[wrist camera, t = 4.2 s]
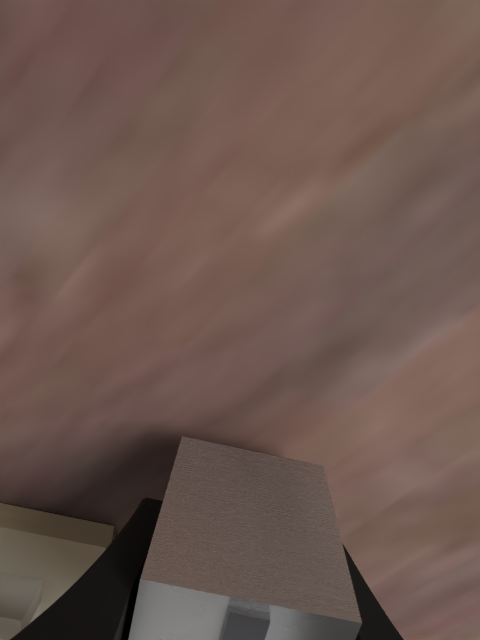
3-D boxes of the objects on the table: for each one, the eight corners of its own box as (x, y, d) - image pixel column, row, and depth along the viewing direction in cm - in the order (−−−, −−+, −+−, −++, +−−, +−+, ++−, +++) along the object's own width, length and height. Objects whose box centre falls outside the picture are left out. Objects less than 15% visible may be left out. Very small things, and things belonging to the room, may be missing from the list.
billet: (287, 574, 14) (304, 777, 9) (158, 549, 14) (107, 740, 9) (322, 465, 13) (364, 633, 8) (182, 436, 13) (137, 588, 8)
